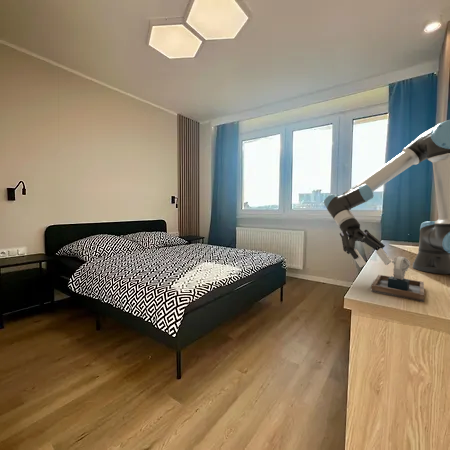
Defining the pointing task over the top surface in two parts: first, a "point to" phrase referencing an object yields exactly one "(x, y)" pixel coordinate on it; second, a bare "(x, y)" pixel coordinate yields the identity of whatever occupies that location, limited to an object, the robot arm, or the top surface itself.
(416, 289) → the valet tray
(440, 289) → the top surface
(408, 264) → the rubber stamp
